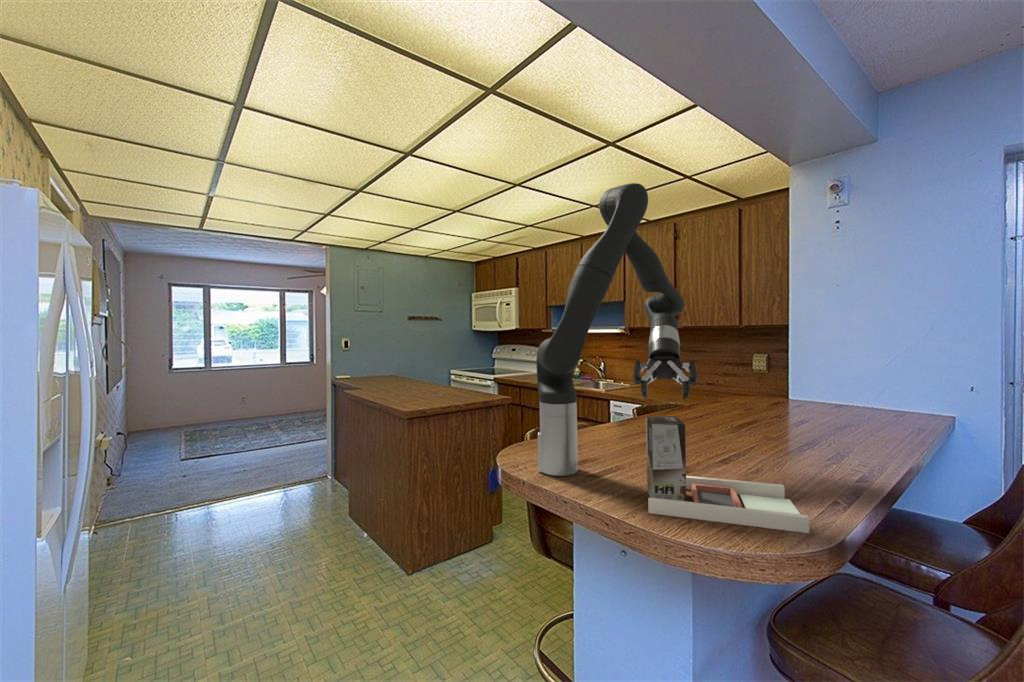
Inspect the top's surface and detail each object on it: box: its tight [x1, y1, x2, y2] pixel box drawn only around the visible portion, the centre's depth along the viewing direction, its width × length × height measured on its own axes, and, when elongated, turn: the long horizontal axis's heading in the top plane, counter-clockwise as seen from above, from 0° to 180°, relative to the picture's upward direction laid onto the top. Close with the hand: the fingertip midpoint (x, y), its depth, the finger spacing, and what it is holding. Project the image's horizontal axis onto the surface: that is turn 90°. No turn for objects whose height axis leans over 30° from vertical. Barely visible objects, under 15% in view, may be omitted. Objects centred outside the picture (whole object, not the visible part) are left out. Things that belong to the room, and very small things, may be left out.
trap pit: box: [691, 483, 743, 508], centre depth 79 cm, size 8×13×2 cm, turn 159°
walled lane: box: [647, 475, 810, 534], centre depth 79 cm, size 25×16×2 cm, turn 69°
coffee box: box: [645, 415, 687, 502], centre depth 82 cm, size 9×6×16 cm
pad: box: [739, 494, 801, 514], centre depth 76 cm, size 9×12×1 cm
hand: (664, 396), depth 95 cm, fingers open, 8 cm apart
